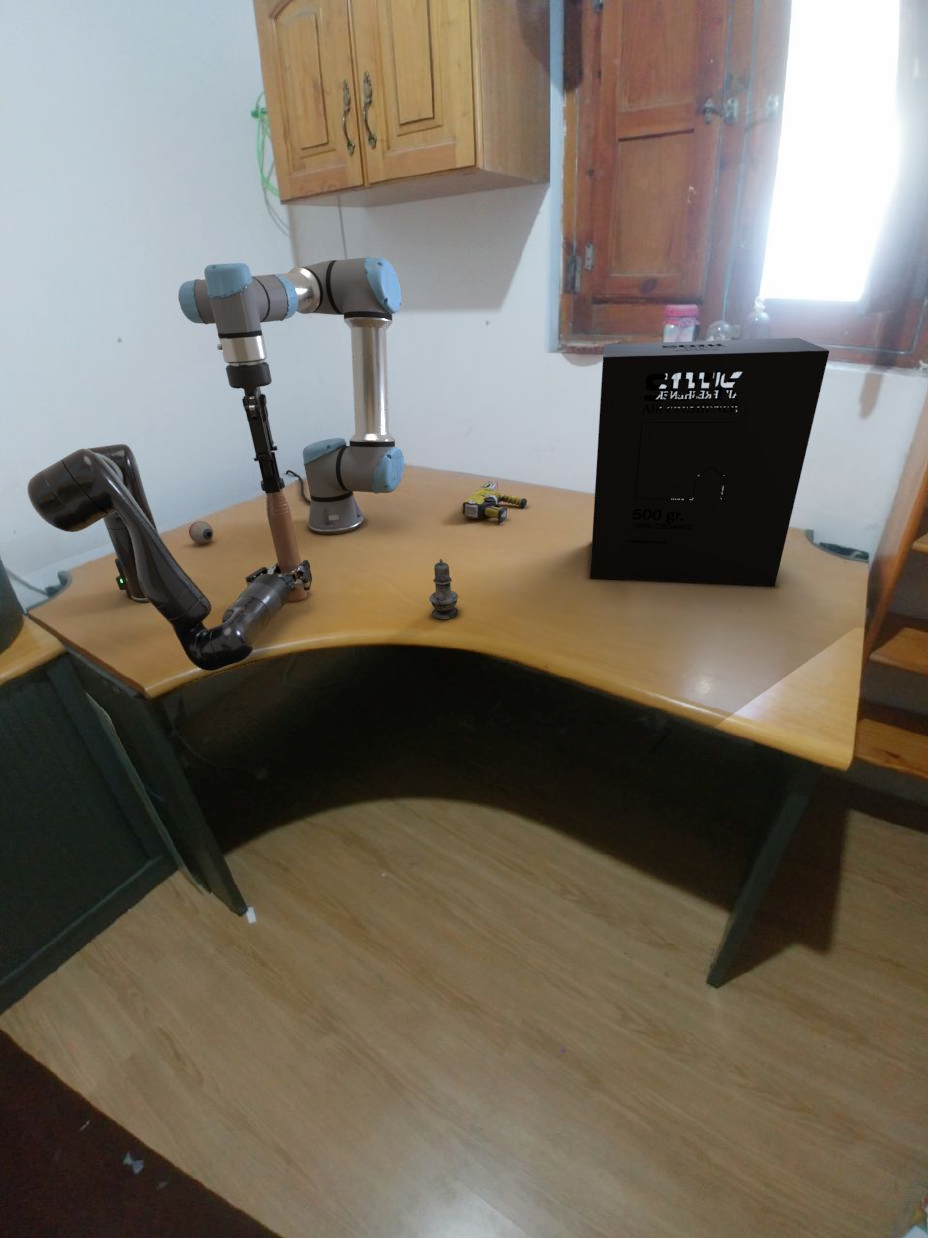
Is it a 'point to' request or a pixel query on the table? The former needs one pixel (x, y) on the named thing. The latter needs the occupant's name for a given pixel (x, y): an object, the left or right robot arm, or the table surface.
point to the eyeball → (201, 532)
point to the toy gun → (489, 503)
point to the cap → (280, 482)
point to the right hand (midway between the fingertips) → (273, 488)
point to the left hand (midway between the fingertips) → (295, 563)
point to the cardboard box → (701, 458)
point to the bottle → (284, 537)
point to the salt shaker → (443, 593)
